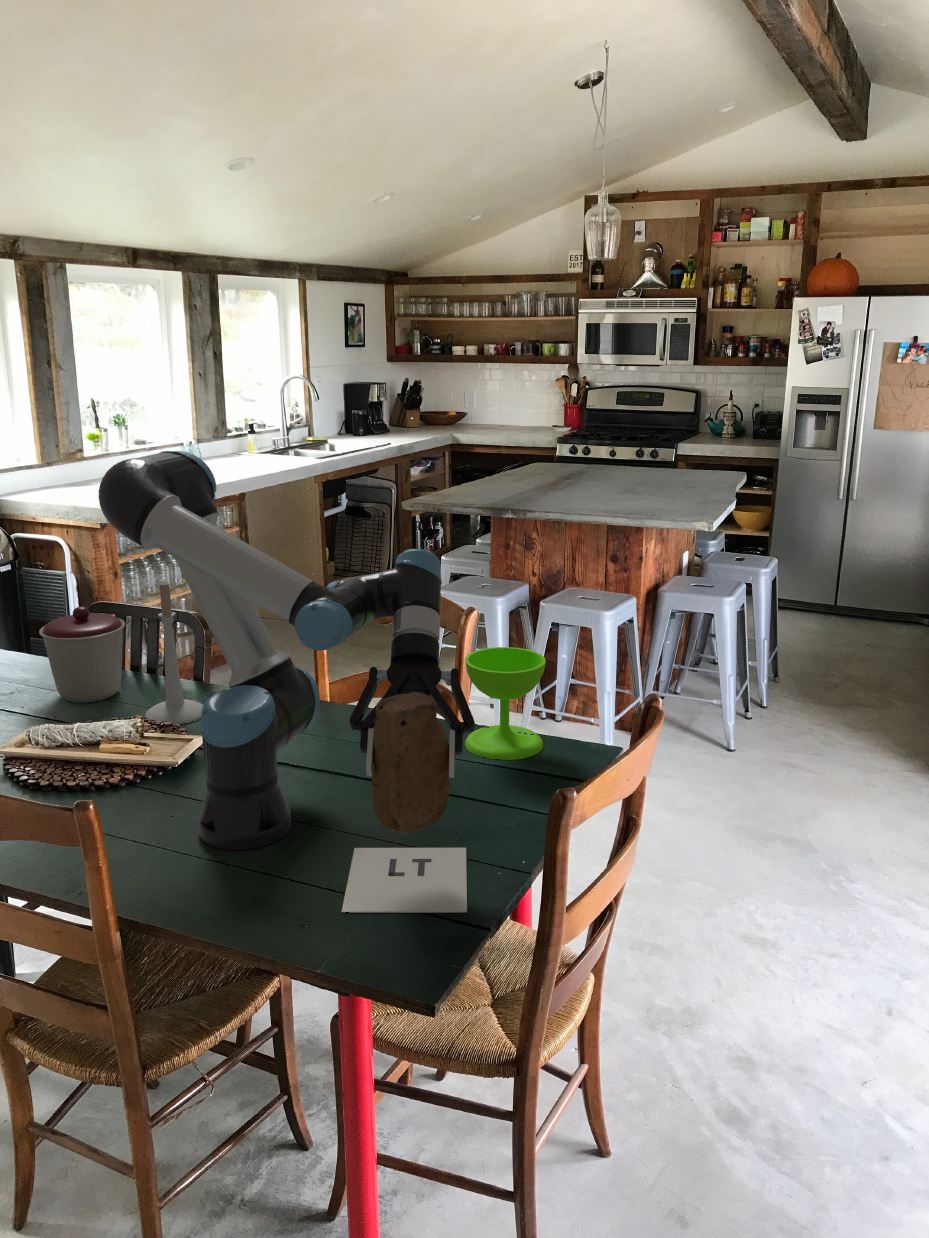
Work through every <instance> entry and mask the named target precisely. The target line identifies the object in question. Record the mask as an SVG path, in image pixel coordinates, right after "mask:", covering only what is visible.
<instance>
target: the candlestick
mask: <svg viewBox="0 0 929 1238" xmlns="http://www.w3.org/2000/svg"><path fill="white" fill-rule="evenodd" d="M158 586H159V595H160V607H161V612H160V613H158V614H157V616H158V617H159V618H160V623H161V624H162V625H163V644H164V645H163V647H164V674H165V675H164V676H165V678H164V679H165V680H164V681H165V700H164V701H162V702H159V703H157V704H155V705H153V706H152V707H150V708H148V710H147V711H146V712H145V714H144V718H145V717H146V718H148V719H150V720H159V721H167V722H171V723H181V724H182V723H188V724H191V723H193V722H192V721H194V722H197V721H199V720H201V719H200V718H201V711H202V707H203V705H204V704H202V703H201V702H199V701H197V700H192V699H186V698H185V699H184V697H183V694H184V693H183V689H182V683H181V677H180V676H181V675H180V668H179V662H178V654H177V649H176V647H177V646H176V642H175V633H174V632H175V630H174V629H173V623H174V622H175V619H174V617H175V615H176V612H175V611H172V603H171V602H172V601H171V591H170V589H171V588H170V583H169V582H165V581H163V582H160V583H159V585H158ZM198 719H199V720H198ZM196 720H197V721H196ZM190 722H191V723H190Z"/></svg>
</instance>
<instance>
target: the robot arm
mask: <svg viewBox="0 0 929 1238" xmlns="http://www.w3.org/2000/svg"><path fill="white" fill-rule="evenodd" d="M216 492H217V483H216V478H215V476H214V473H213V472H212V470H211V469H210V467H209V466H208V465H207V464H206V462H205V461H204V460H203V459H202V458H200V457H198V456H197V455H196V454H192V453H190V452H187V451H183V450H165V451H164V450H163V451H159V452H158V453H153V454H149V455H148V454H147V455H145V456H143V455H142V456H140V457H132V458H128V459H123V460H121V461H118V462H117V463H115V464H113V465H112V466H111V467H110V468H109V469H108V470H106V472H105V474H104V475H103V476H102V479H101V481H100V483H99V488H98V502H99V507H100V509H101V512H102V514H103V516H104V518H105V519H106V520H107V522H108V523H109V524H110V525H111V526H112V527H113V528H114V530H116V531H118V532H119V533H120V534H121V535H123V536H124V537H125V538H126V539H128V540H130V541H132V542H133V543H135V544H137V545H138V546H141V547H142V548H144V549H146V550H154V549H159V550H161V551H162V552H164V553H166V554H168V555H169V556H171V557H173V558H174V561H175V562H176V565H177V566H178V568H179V570H180V572H181V574H182V576H183V578H184V580H185V581H186V583H187V586H188V588H189V590H190V592H191V593H192V596H193V598H194V600H195V602H196V603H197V606H198V608H199V609H200V611H201V614H202V616H203V618H204V620H205V621H206V623H207V625H208V627H209V630H210V631H211V633H212V635H213V638H214V639H215V641H216V644H217V646H218V648H219V650H220V651H221V653H222V655H223V657H224V659H225V660H226V663H227V665H228V667H229V669H230V670H231V676H230V678H229V681H228V686H229V688H228V689H225V688H224V689H221V690H219V691H218V692H215V693H214V694H212V695H211V696H209V698H208V699H206V700H205V702H204V704H202V705H203V707H202V711H201V719H200V720H201V721H200V734H201V739H202V750H203V759H204V771H205V783H206V784H205V785H206V792H205V795H204V799H203V803H202V805H201V811H200V814H199V816H198V817H199V818H198V830H199V831H198V832H199V837H200V839H201V840H202V842H204V844H207V845H209V846H210V847H213V848H216V849H222V850H228V851H244V850H253V849H256V848H257V849H258V848H260V847H261V848H262V847H264V846H267V845H271V844H273V843H275V842H277V841H279V840H281V838H283V837H285V836H286V835H287V834H288V832H290V829H291V827H292V816H291V808H290V805H289V803H288V801H287V799H286V796H285V794H284V792H283V789H282V787H281V785H280V783H279V773H278V772H279V771H278V770H279V768H278V752H280V751H281V749H283V748H284V747H285V746H286V745H288V744H289V743H290V742H291V741H292V740H293V739H294V738H296V737H297V736H298V735H300V734H302V733H304V732H305V730H306V729H307V728H308V727H309V726H310V724H311V723H312V722H313V721H314V719H315V718H316V716H317V714H318V713H319V708H320V704H321V694H320V690H319V687H318V683H317V682H316V681H315V679H314V677H313V676H312V675H311V674H310V673H309V672H308V671H307V670H306V669H302V668H301V667H300V666H299V665H298V666H297V665H295V664H294V662H293V661H292V658H291V656H290V654H288V653H285V652H282V651H280V650H278V649H277V647H276V646H275V644H274V642H273V640H272V638H271V635H270V634H269V632H268V629H267V628H266V625H265V624H264V621H263V619H262V617H261V616H260V614H259V612H258V609H257V607H256V606H255V604H256V605H257V606H259V607H260V608H262V609H264V610H267V612H269V613H272V614H273V615H275V616H277V617H278V618H280V619H282V620H284V621H285V622H286V623H289V624H290V625H292V626H293V627H294V630H295V633H296V636H297V637H298V638H299V640H300V641H301V643H302V644H303V645H304V646H306V648H309V649H311V650H314V651H319V652H320V651H321V652H322V651H327V650H331V649H332V648H335V647H336V646H338V645H341V644H342V643H344V642H345V641H347V639H348V638H349V637H350V636H351V635H353V634H354V633H355V632H357V631H359V630H360V629H361V628H363V627H364V626H365V625H367V624H368V623H370V622H371V621H374V620H378V619H379V620H380V619H383V618H388V617H392V627H391V628H392V629H391V638H392V641H391V646H390V647H391V648H390V665H389V666H388V668H387V669H378V668H377V667H376V666H371V667H369V671H368V672H369V673H368V680H367V682H366V685H365V687H364V688H363V691H362V692H361V694H360V697H359V699H358V700H357V703H356V705H355V707H354V709H353V710H352V713H351V715H350V717H349V719H348V720H349V725H350V729H352V731H358V732H360V739H359V740H360V741H359V749H360V753H362V754H366V763H365V764H366V765H365V773H366V777H372V774H373V769H374V764H373V742H374V728H375V722H376V720H377V716H376V705H375V706H374V707H373V708H372V709H371V711H370V712H369V713H368V715H367V716H366V717H365V718H364V716H365V714H366V712H367V710H368V709H369V706H370V705H371V702H372V701H373V698H374V696H375V693H376V691H377V689H378V685H381V684H382V683H383V681H384V680H385V679H387V680H388V682H389V683H390V684H391V685H390V686H389V687H388V689H387V691H386V692H385V693H384V695H382V697H381V698H380V700H379V701H381V700H383V699H385V698H388V697H392V696H396V695H399V694H409V693H411V692H420V693H423V694H426V695H429V696H431V697H433V699H434V700H435V702H436V705H437V712H439V714H440V715H441V717H442V718H443V719H444V721H445V722H446V724H447V725H448V726H449V728H450V730H449V778H450V779H451V778H452V779H454V778H455V756H456V755H457V756H461V755H462V753H463V737H464V734H466V733H472V732H474V731H475V726H476V725H475V724H476V721H475V719H474V716H473V714H472V711H471V709H470V706H469V704H468V701H467V699H466V695H465V694H464V691H463V689H462V686H461V684H460V680H459V679H460V676H459V672H460V671H459V669H458V668H454V667H453V668H452V669H451V670H441V668H440V642H439V641H440V636H441V635H440V632H441V595H442V594H441V593H442V592H441V591H442V584H443V582H442V581H443V580H442V572H441V571H442V570H441V569H442V565H441V561H440V559H439V557H438V556H437V555H436V554H434V553H433V552H432V551H429V550H426V549H423V548H412V549H406V550H404V551H403V552H402V553H399V554H398V555H397V557H396V559H395V563H394V567H393V568H391V569H386V570H383V571H380V572H373V573H369V574H363V575H358V576H353V577H344V578H342V579H339V580H335V581H332V582H330V583H328V584H327V585H326V587H324V586H323V585H321V584H319V583H317V582H315V581H313V580H312V579H310V578H309V577H307V576H305V575H303V574H302V573H300V572H298V571H296V570H294V569H293V568H291V567H289V566H287V565H286V564H284V563H282V562H280V561H278V560H277V559H275V558H273V557H272V556H270V555H268V554H267V553H265V552H263V551H261V550H259V549H258V548H256V547H254V546H252V545H250V544H249V543H247V542H245V541H244V540H242V539H240V538H238V537H236V536H235V535H233V534H231V533H229V532H227V531H226V530H224V529H222V528H220V527H219V526H217V522H218V519H219V516H220V513H219V511H218V508H217V506H216V505H215V503H214V502H215V500H216ZM442 680H443V681H444V683H445V684H446V685H447V687H448V686H450V690H451V694H452V696H453V699H454V701H455V703H456V706H457V708H458V711H459V714H460V716H461V719H462V722H461V720H460V719H459V718H458V715H456V714H455V712H454V711H453V710H452V708H451V706H449V704H448V703H447V701H446V700H445V698H444V697H443V695H442V694H441V693H440V690H439V689H438V687H437V685H438V684H439V683H440V682H441V681H442Z"/></svg>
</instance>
